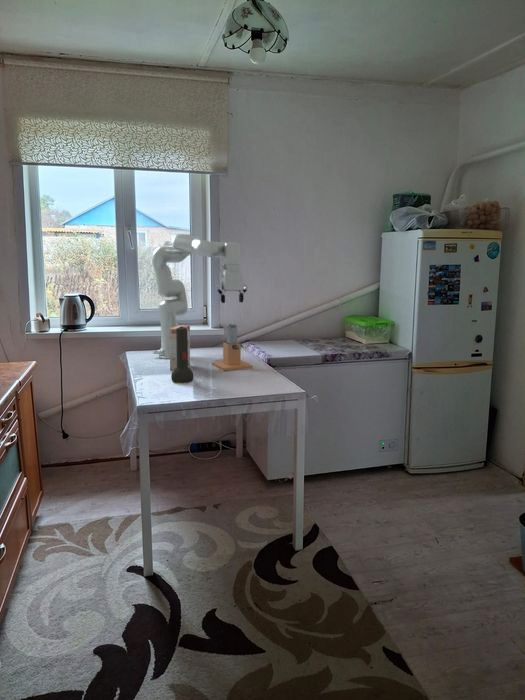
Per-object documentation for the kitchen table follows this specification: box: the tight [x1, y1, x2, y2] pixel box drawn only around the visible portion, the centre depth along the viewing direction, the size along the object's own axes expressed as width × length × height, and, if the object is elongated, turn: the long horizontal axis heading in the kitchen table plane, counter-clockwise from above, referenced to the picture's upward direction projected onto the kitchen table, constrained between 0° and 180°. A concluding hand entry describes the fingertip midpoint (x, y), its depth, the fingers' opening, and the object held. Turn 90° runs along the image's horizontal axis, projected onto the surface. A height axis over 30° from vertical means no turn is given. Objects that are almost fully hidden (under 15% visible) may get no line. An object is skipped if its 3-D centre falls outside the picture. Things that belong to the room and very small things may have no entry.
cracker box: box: [169, 324, 191, 371], centre depth 252 cm, size 14×6×21 cm, turn 168°
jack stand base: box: [211, 342, 253, 372], centre depth 257 cm, size 16×16×12 cm
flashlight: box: [170, 326, 195, 384], centre depth 225 cm, size 10×25×10 cm
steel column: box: [226, 323, 238, 345], centre depth 256 cm, size 5×5×20 cm
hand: (232, 302), depth 252 cm, fingers open, 9 cm apart
